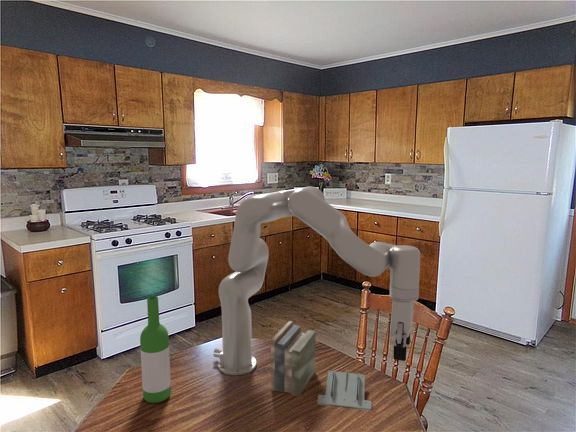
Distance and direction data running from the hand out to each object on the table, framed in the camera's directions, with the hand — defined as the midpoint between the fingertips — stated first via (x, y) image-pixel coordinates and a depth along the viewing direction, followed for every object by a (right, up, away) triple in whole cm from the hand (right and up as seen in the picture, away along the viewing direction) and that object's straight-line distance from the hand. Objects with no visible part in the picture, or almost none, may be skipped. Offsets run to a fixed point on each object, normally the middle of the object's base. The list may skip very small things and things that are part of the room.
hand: (401, 351), depth 111 cm
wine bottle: (-69, -15, +6) cm, 71 cm away
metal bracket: (-15, -16, +8) cm, 23 cm away
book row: (-29, -14, +14) cm, 35 cm away
